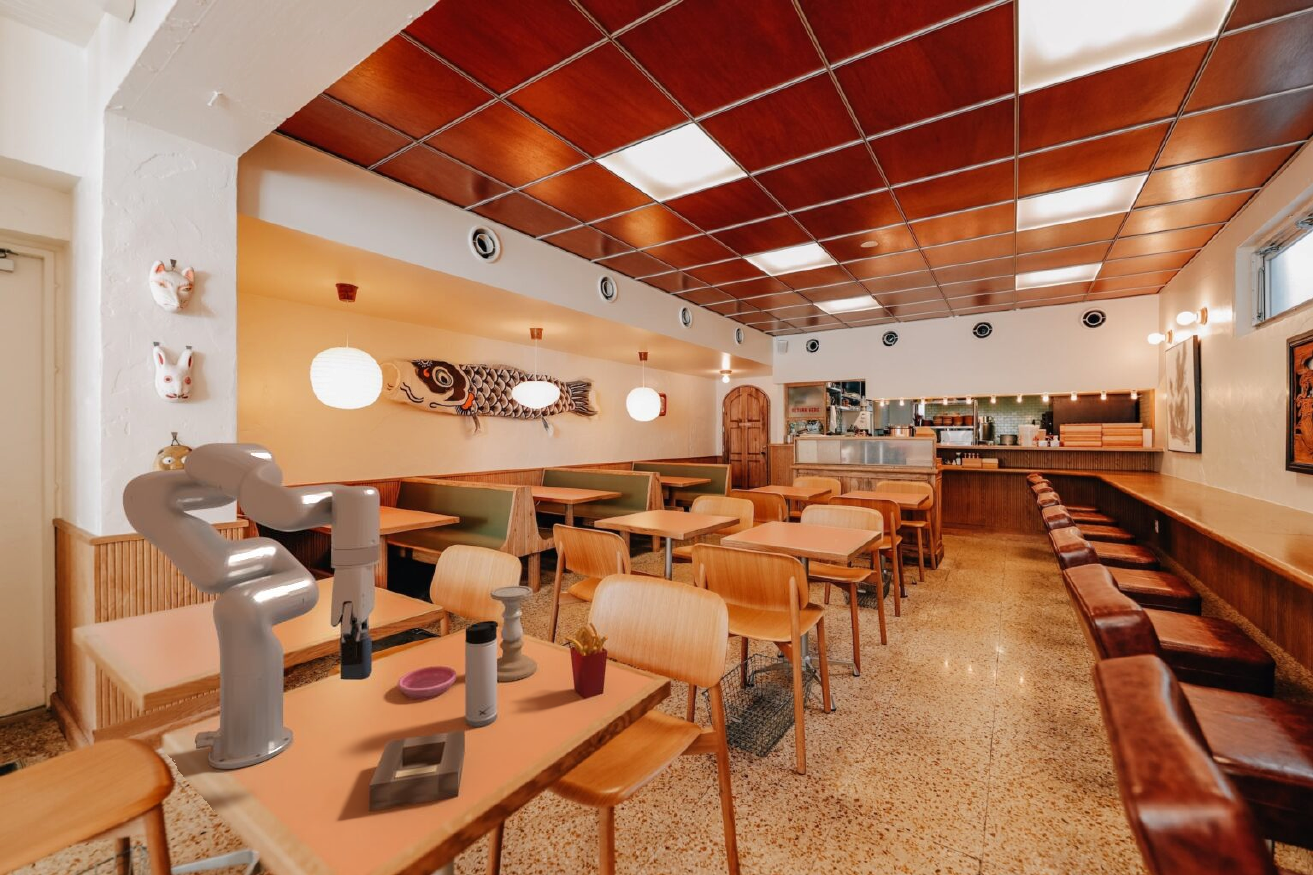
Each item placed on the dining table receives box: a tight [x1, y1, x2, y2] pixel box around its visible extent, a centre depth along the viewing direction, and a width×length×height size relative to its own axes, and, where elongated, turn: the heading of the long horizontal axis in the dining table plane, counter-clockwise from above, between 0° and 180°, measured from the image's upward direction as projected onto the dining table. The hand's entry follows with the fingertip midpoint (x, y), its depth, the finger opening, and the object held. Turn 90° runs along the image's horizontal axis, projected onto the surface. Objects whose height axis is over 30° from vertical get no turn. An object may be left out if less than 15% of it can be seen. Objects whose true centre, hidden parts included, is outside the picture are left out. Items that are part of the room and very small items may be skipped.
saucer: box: [397, 665, 457, 700], centre depth 125 cm, size 12×12×3 cm
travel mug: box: [464, 620, 499, 728], centre depth 111 cm, size 6×7×20 cm
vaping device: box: [339, 616, 373, 681], centre depth 95 cm, size 3×5×12 cm, turn 88°
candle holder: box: [489, 585, 538, 682], centre depth 135 cm, size 12×12×20 cm
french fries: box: [565, 622, 609, 700], centre depth 124 cm, size 9×8×15 cm
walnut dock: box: [368, 729, 466, 812], centre depth 92 cm, size 13×13×4 cm
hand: (355, 658), depth 95 cm, fingers closed on vaping device, 3 cm apart
